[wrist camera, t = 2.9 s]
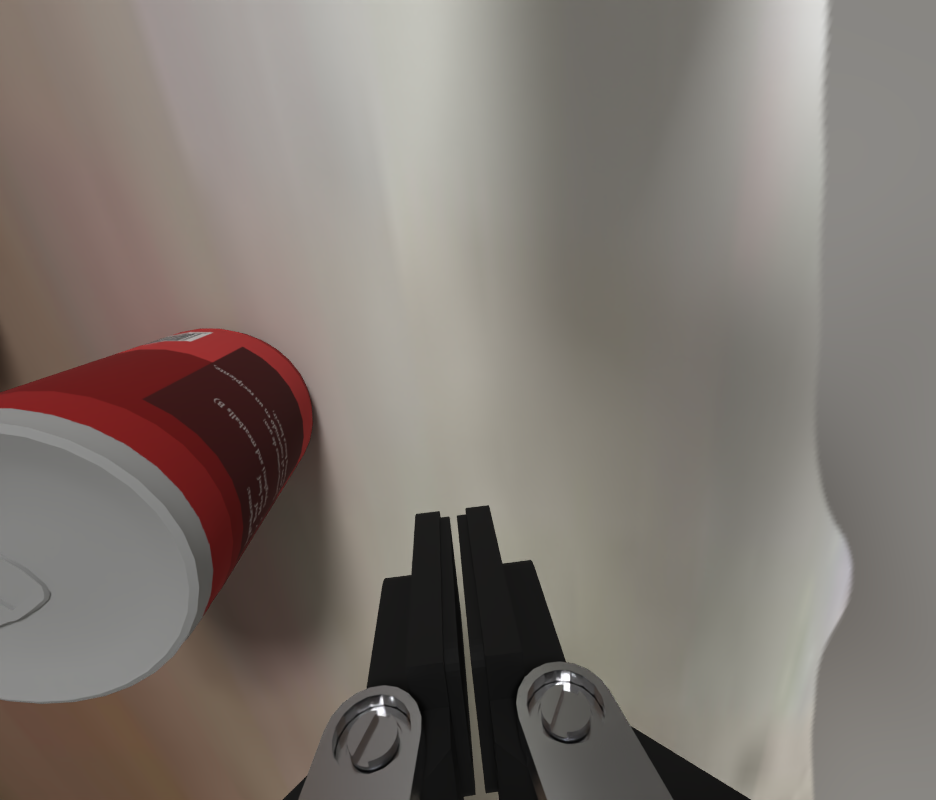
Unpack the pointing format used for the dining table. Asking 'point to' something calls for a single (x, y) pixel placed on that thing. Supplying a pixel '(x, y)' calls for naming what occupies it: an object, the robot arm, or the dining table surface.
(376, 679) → the robot arm
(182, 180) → the dining table surface
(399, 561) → the dining table surface
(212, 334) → the canned food
